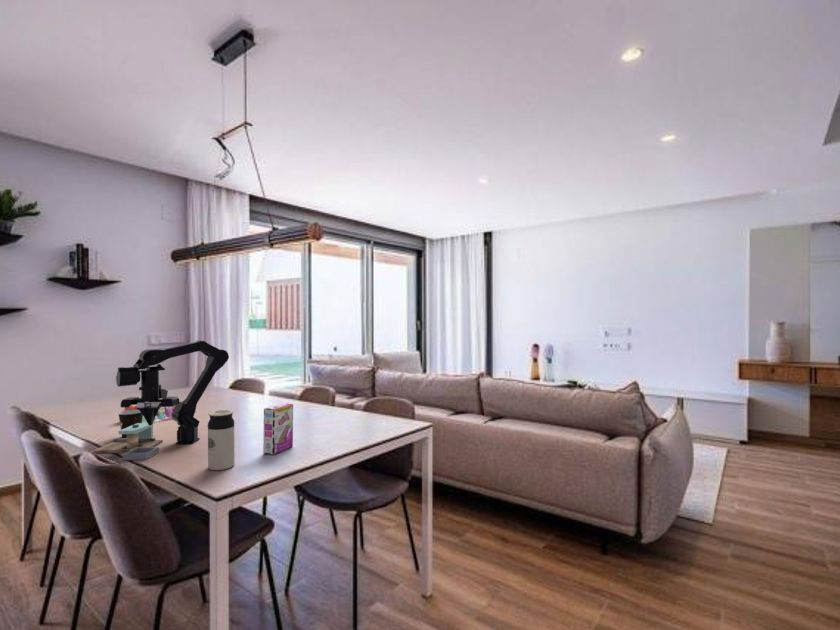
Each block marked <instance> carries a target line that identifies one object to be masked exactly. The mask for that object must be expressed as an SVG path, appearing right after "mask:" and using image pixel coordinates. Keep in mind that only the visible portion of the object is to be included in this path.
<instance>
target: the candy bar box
mask: <svg viewBox="0 0 840 630" xmlns="http://www.w3.org/2000/svg"><path fill="white" fill-rule="evenodd" d="M293 438H294V404H293V403H284V402H283V403H278V404H276V405H272V406H268V407H263V443H262V444H263V447H262V448H263V450H262V451H263V454H265V455H270V456H275V455H277V454H279V453H281V452H284V451H286V450H289V449H290V448H293V447H294V443H293V442H294V439H293Z"/></svg>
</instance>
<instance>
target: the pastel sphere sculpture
mask: <svg viewBox="0 0 840 630" xmlns="http://www.w3.org/2000/svg"><path fill="white" fill-rule="evenodd" d="M183 401H184V400H183ZM183 401H182V400H181V401H180V402H183ZM149 405H151V404H149ZM175 406H176V405H175ZM175 406H172V407H161V408H160V409H159V410H158V412H157V414H156V417H155V419H154V422H153V424H156V423H155V422H157V423H160V422H163V421H162V420H164V421H170V420H169V419H172V420H173V418H172V413H173V411H172V410H173V409H174V408H175ZM137 408H138V405H131V406H130V407H125V408H124V409H123V410H122V411H121V412H123V411H129V410H137ZM159 421H160V422H159ZM142 423H147V421H146V419H145V418H144V416H143V418H142Z"/></svg>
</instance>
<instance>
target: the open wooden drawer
mask: <svg viewBox="0 0 840 630" xmlns="http://www.w3.org/2000/svg"><path fill="white" fill-rule="evenodd" d="M163 441H164V440H163V439H156V437H152V438H138V447H158V446H159V445H161V444H163V443H162V442H163ZM160 443H161V444H160ZM158 444H159V445H158ZM130 450H132V449H127V438H122V437H121V438H119V437H118V438H113V439H112V442H110V443H107V444H105V445H102V446H100V447H98V448H96V449H94V450H93V454H103V453H104V454H113V453H115V454H116V453H117V454H124V453H126V452H128V451H130Z"/></svg>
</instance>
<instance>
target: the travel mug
mask: <svg viewBox="0 0 840 630" xmlns="http://www.w3.org/2000/svg"><path fill="white" fill-rule="evenodd" d="M233 413H234V410H233V409H219V410H212V411H210V412H209V413H208V416H209V420H208V422H207V469H209V470H211V471H222V470H223V471H224V470H228V469H231V468H232V467H233V466H235V460H236V459H235V453H236V452H235V419H234V417H233Z"/></svg>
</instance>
